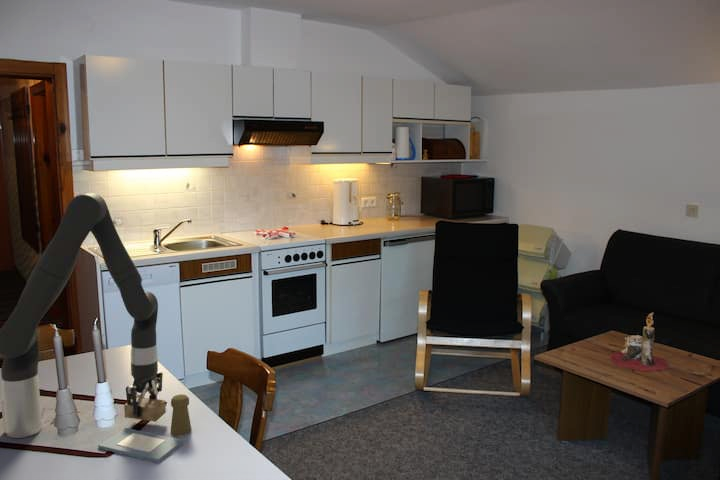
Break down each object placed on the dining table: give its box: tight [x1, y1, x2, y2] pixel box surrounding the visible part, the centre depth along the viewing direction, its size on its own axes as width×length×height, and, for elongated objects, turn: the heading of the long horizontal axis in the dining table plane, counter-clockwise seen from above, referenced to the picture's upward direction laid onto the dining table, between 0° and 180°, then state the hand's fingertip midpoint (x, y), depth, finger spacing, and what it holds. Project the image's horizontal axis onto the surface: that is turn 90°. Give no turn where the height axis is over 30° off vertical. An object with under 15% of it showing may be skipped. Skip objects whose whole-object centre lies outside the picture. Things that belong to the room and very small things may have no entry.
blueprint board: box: [97, 427, 184, 464], centre depth 175 cm, size 20×11×1 cm, turn 70°
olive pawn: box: [170, 393, 192, 437], centre depth 183 cm, size 6×6×11 cm
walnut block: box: [123, 397, 166, 422], centre depth 187 cm, size 10×6×4 cm, turn 80°
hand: (145, 411), depth 187 cm, fingers closed on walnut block, 6 cm apart
